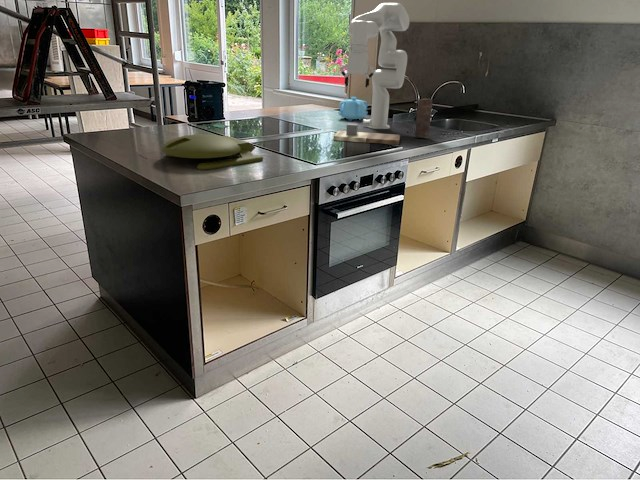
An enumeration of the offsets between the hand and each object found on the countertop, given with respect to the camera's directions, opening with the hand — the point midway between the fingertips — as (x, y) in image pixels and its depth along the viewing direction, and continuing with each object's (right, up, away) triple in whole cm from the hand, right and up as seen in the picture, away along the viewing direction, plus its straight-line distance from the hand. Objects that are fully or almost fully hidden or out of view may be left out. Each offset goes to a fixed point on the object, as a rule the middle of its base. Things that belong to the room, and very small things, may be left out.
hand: (356, 86), depth 236 cm
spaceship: (-63, -43, -42) cm, 87 cm away
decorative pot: (+3, +1, +69) cm, 69 cm away
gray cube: (-2, -21, +8) cm, 23 cm away
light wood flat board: (+6, -24, +8) cm, 26 cm away
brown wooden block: (+35, -22, +17) cm, 44 cm away
